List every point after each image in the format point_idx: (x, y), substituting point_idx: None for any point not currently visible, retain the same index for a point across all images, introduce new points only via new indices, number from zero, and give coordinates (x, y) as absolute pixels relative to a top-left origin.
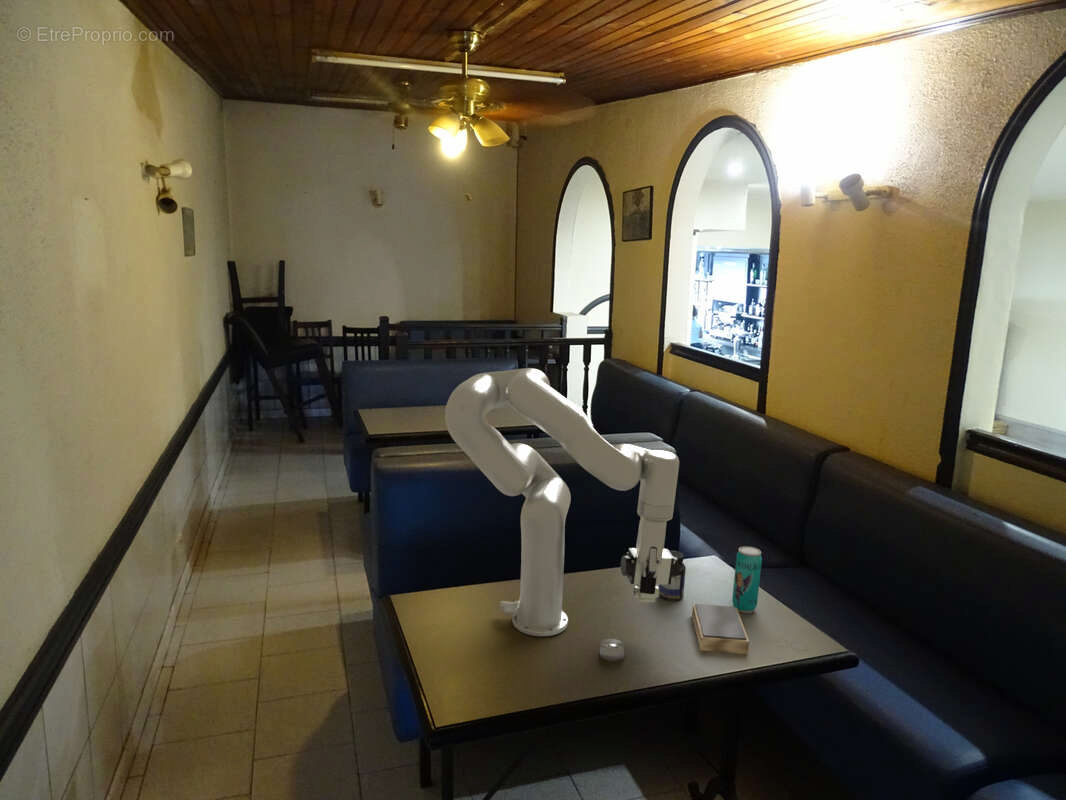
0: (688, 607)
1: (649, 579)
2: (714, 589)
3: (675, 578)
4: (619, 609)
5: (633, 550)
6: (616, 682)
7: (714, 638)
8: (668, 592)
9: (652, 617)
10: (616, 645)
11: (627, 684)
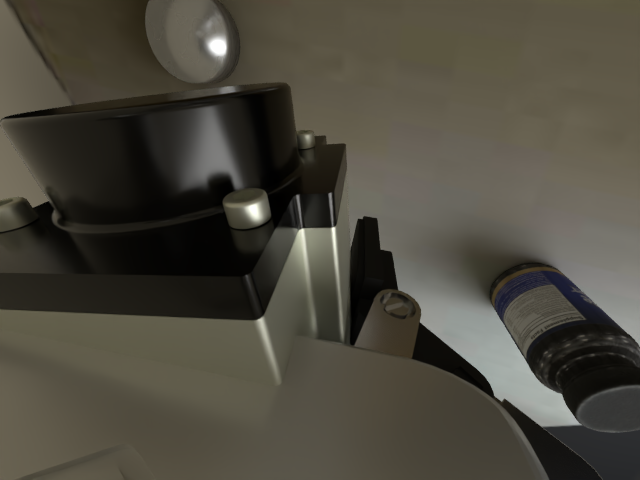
0: (450, 307)
1: None
2: (520, 376)
3: (523, 338)
4: (488, 122)
5: (159, 324)
6: (69, 33)
7: None
8: (509, 290)
9: (416, 214)
10: (186, 52)
11: (73, 68)
